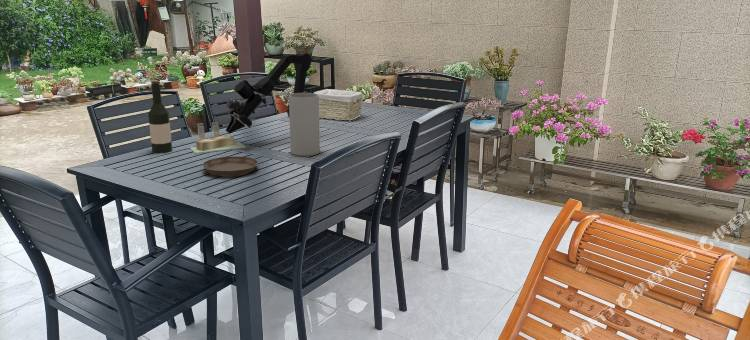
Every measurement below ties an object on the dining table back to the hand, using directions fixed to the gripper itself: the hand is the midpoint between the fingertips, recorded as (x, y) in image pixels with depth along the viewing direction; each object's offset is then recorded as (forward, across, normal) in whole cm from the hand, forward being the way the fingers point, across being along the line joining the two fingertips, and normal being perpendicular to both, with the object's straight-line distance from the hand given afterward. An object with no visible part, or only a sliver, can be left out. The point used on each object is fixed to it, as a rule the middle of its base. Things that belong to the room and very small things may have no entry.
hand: (227, 132), depth 247 cm
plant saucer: (+11, +35, -1) cm, 37 cm away
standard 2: (+6, -13, +3) cm, 15 cm away
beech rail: (+6, +1, 0) cm, 7 cm away
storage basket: (-46, -36, +56) cm, 81 cm away
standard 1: (+11, -14, -1) cm, 18 cm away
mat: (+8, 0, +2) cm, 8 cm away
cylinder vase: (-14, +24, +24) cm, 37 cm away
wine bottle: (+24, -6, -14) cm, 29 cm away
